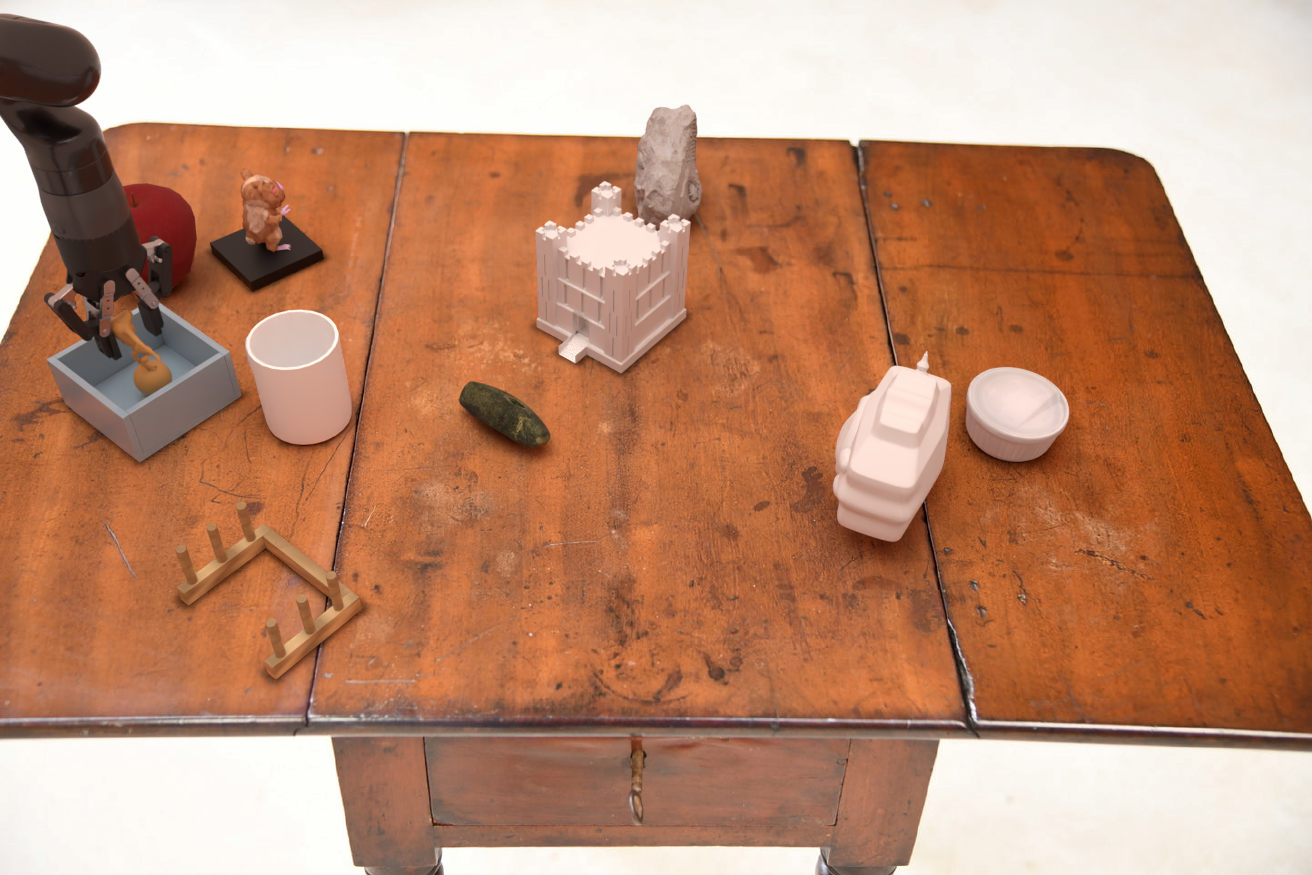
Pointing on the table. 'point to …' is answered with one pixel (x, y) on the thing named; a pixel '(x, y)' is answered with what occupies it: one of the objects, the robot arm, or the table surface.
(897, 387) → the white tiered block
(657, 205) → the fossil
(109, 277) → the robot arm
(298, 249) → the figurine
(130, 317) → the figurine
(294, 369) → the mug
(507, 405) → the decorative stone
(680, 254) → the castle model
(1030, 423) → the ramekin
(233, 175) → the table surface
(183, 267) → the apple
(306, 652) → the drying rack
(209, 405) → the light blue open box
